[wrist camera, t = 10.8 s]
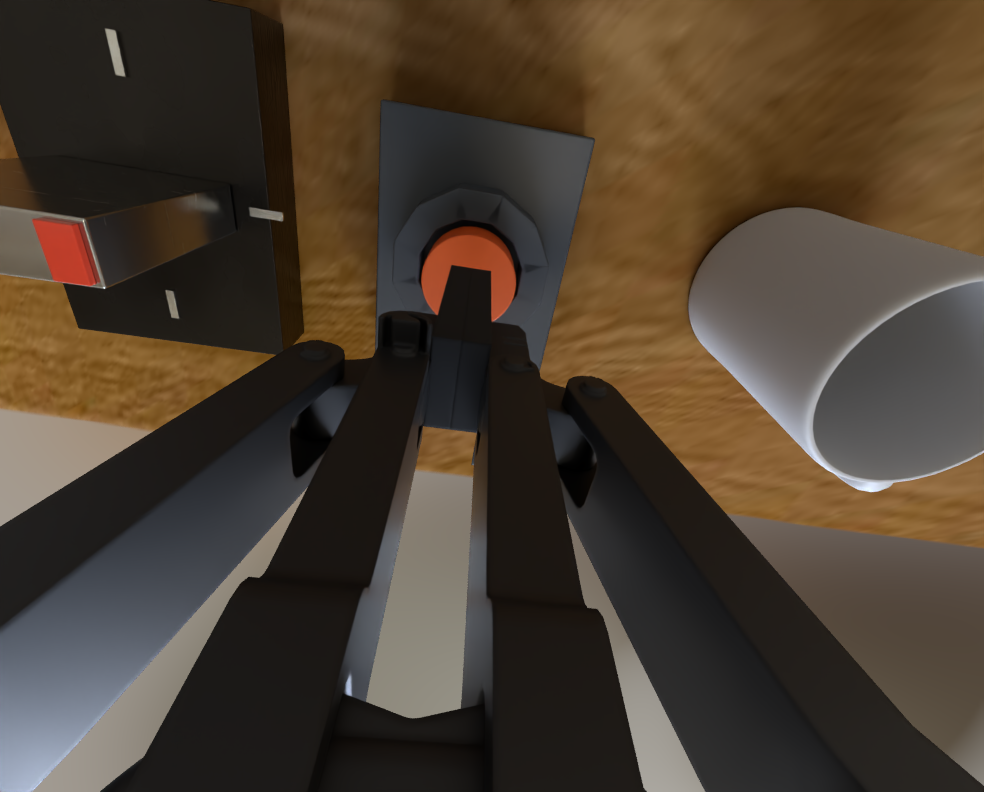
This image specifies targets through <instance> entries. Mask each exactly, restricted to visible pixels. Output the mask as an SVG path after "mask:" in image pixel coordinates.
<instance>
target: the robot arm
mask: <svg viewBox="0 0 984 792" xmlns="http://www.w3.org/2000/svg"><path fill="white" fill-rule="evenodd" d="M423 421H424V423H423ZM423 426H426V427H434V428H442V429H450V430H458V431H466V432H474V433H477V435H476V441H475V447H474V453H473V459H472V465H474V475H473V496H472V515H471V533H470V552H469V571H468V590H467V611H466V630H465V648H464V668H463V686H462V700H461V709H458V710H453V711H449V712H444V713H440V714H435V715H431V716H426V717H422V718H413V719H412V718H406V717H403V716H401V715H398V714H396V713H393V712H391V711H388V710H385V709H383V708H380V707H378V706H375V705H372V704H370V703H367V702H366V698H367V692H368V687H369V681H370V677H371V672H372V668H373V663H374V658H375V654H376V649H377V644H378V640H379V635H380V631H381V626H382V621H383V617H384V612H385V607H386V602H387V598H388V593H389V588H390V584H391V579H392V574H393V569H394V565H395V560H396V556H397V551H398V546H399V542H400V537H401V532H402V528H403V523H404V518H405V514H406V509H407V504H408V500H409V495H410V490H411V485H412V481H413V476H414V472H415V467H416V462H417V458H418V453H419V448H420V444H421V439H422V431H423ZM477 428H478V429H477ZM307 487H308V488H307ZM306 488H307V490H306V492H305V494H304V496H303V498H302V500H301V502H300V504H299V506H298V508H297V510H296V512H295V514H294V516H293V518H292V520H291V522H290V524H289V526H288V528H287V530H286V532H285V534H284V536H283V538H282V540H281V542H280V544H279V546H278V548H277V550H276V552H275V554H274V556H273V558H272V560H271V562H270V564H269V566H268V568H267V569H266V571H265V573H264V574H263V575H262V576H261V577H260V578H255V577H248V578H247V579H245V580H244V581H243V582H242V583H241V584H240V585H239V586H238V588H237V589H236V591H235V592H234V594H233V595H232V597H231V598H230V600H229V602H228V604H227V605H226V607H225V609H224V611H223V613H222V615H221V616H220V618H219V620H218V622H217V624H216V626H215V627H214V629H213V631H212V633H211V635H210V637H209V639H208V640H207V642H206V644H205V646H204V648H203V649H202V651H201V653H200V655H199V657H198V659H197V661H196V662H195V664H194V666H193V668H192V670H191V672H190V673H189V675H188V677H187V679H186V681H185V683H184V684H183V686H182V688H181V690H180V692H179V694H178V695H177V697H176V699H175V701H174V703H173V705H172V706H171V708H170V710H169V712H168V714H167V716H166V718H165V719H164V721H163V723H162V725H161V727H160V728H159V730H158V732H157V734H156V736H155V738H154V740H153V741H152V743H151V745H150V747H149V749H148V750H147V752H146V754H145V756H144V757H143V758H142V759H140V760H139V761H138V762H136V763H135V764H134V765H133V766H131V767H130V768H129V769H127V770H126V771H125V772H123V773H122V774H121V775H120V776H118V777H117V778H116V779H115V780H114V781H112V782H111V783H110V784H109V785H107V786H106V787H105V788H104V789H103V790H101V791H100V792H647V791H646V790H645V789H644V788H643V784H642V780H641V775H640V771H639V767H638V762H637V757H636V753H635V749H634V745H633V740H632V736H631V731H630V727H629V722H628V718H627V714H626V709H625V705H624V701H623V696H622V692H621V688H620V683H619V679H618V674H617V670H616V666H615V661H614V657H613V653H612V648H611V644H610V639H609V635H608V631H607V628H606V625H605V622H604V619H603V616H602V615H601V614H600V612H599V611H598V610H597V609H591V608H587V606H586V605H585V603H584V599H583V595H582V590H581V585H580V580H579V575H578V569H577V564H576V559H575V554H574V549H573V544H572V539H571V534H570V528H569V523H568V518H567V514H568V516H569V518H570V520H571V522H572V524H573V526H574V528H575V530H576V532H577V534H578V536H579V538H580V540H581V542H582V545H583V547H584V549H585V551H586V552H587V555H588V556H589V559H590V561H591V563H592V565H593V567H594V569H595V571H596V572H597V575H598V577H599V579H600V581H601V583H602V585H603V587H604V589H605V591H606V593H607V595H608V597H609V599H610V601H611V603H612V605H613V607H614V609H615V610H616V613H617V615H618V617H619V619H620V621H621V623H622V625H623V627H624V629H625V631H626V633H627V635H628V637H629V639H630V641H631V643H632V645H633V647H634V649H635V651H636V653H637V655H638V657H639V659H640V661H641V663H642V665H643V667H644V669H645V671H646V673H647V675H648V677H649V679H650V682H651V683H652V686H653V687H654V690H655V691H656V693H657V696H658V698H659V700H660V701H661V704H662V706H663V708H664V710H665V712H666V714H667V716H668V718H669V720H670V722H671V724H672V726H673V728H674V730H675V732H676V734H677V736H678V738H679V740H680V742H681V744H682V746H683V748H684V750H685V752H686V754H687V756H688V758H689V760H690V762H691V764H692V766H693V768H694V770H695V772H696V774H697V776H698V778H699V780H700V782H701V784H702V786H703V788H704V789H705V791H706V792H984V786H983V785H982V784H981V783H980V782H978V781H977V780H976V779H975V778H974V777H972V776H971V775H970V774H969V773H968V772H967V771H965V770H964V769H963V768H962V767H961V766H960V765H958V764H957V763H956V762H955V761H953V760H952V759H951V758H950V757H949V756H948V755H946V754H945V753H944V752H943V751H942V750H940V749H939V748H938V747H937V746H936V745H935V744H934V743H932V742H931V741H930V740H929V739H928V738H926V737H925V736H924V735H923V734H922V733H920V732H919V731H918V730H917V729H916V728H915V727H913V726H912V725H911V723H910V722H909V721H908V720H907V719H906V718H905V717H904V715H903V714H902V713H901V712H900V711H899V710H898V709H897V708H896V706H895V705H894V704H893V703H892V702H891V701H890V700H889V698H888V697H887V696H886V695H885V694H884V693H883V692H882V690H881V689H880V688H879V687H878V686H877V685H876V684H875V683H874V682H873V680H872V679H871V678H870V677H869V676H868V675H867V673H866V672H865V671H864V670H863V669H862V668H861V667H860V666H859V664H858V663H857V662H856V661H855V660H854V659H853V658H852V656H851V655H850V654H849V653H848V652H847V651H846V650H845V648H844V647H843V646H842V645H841V644H840V643H839V642H838V641H837V639H836V638H835V637H834V636H833V635H832V634H831V633H830V631H829V630H828V629H827V628H826V627H825V626H824V625H823V623H822V622H821V621H820V620H819V619H818V618H817V617H816V616H815V614H814V613H813V612H812V611H811V610H810V609H809V608H808V606H806V604H805V603H804V602H803V601H802V600H801V598H800V597H799V596H798V595H797V594H796V593H795V592H794V591H793V589H792V588H791V587H790V586H789V585H788V584H787V583H786V582H785V580H784V579H783V578H782V577H781V576H780V575H779V574H778V572H777V571H776V570H775V569H774V568H773V567H772V566H771V564H770V563H769V562H768V561H767V560H766V559H765V558H764V557H763V555H761V553H760V552H759V551H758V550H757V549H756V547H755V546H754V545H753V544H752V543H751V542H750V541H749V539H748V538H747V537H746V536H745V535H744V534H743V533H742V532H741V530H740V529H739V528H738V527H737V526H736V525H735V524H734V522H733V521H732V520H731V519H730V518H729V517H728V516H727V514H726V513H725V512H724V511H723V510H722V509H721V508H720V507H719V505H718V504H717V503H716V502H715V501H714V500H713V499H712V497H711V496H710V495H709V494H708V493H707V492H706V491H705V489H704V488H703V487H702V486H701V485H700V484H699V483H698V482H697V480H696V479H695V478H694V477H693V476H692V475H691V474H690V472H689V471H688V470H687V469H686V468H685V467H684V466H683V464H682V463H681V462H680V461H679V460H678V459H677V458H676V457H675V455H674V454H673V453H672V452H671V451H670V450H669V449H668V447H667V446H666V445H665V444H664V443H663V442H662V441H661V440H660V438H659V437H658V436H657V435H656V434H655V433H654V432H653V430H652V429H651V428H650V427H649V426H648V425H647V424H646V422H645V421H644V420H643V419H642V418H641V417H640V416H639V415H638V413H637V412H636V411H635V410H634V409H633V408H632V407H631V405H630V404H629V403H628V402H627V401H626V400H625V399H624V397H623V396H622V395H621V394H620V393H619V392H618V391H617V390H616V389H615V388H614V387H613V386H612V385H610V384H609V383H607V382H605V381H603V380H602V379H599V378H596V377H592V376H589V377H587V376H577V377H573V378H571V379H569V380H568V383H567V385H566V388H563V387H560V386H557V385H554V384H551V383H548V382H546V381H544V380H542V379H541V377H540V372H539V368H538V367H537V365H536V364H535V363H534V362H532V361H531V360H530V356H529V350H528V344H527V338H526V333H525V332H524V331H523V330H522V329H521V328H520V327H519V326H518V325H512V324H505V323H498V322H492V317H491V271H488V270H481V269H475V268H469V267H462V266H456V265H451V268H450V272H449V275H448V279H447V283H446V286H445V290H444V293H443V297H442V301H441V304H440V308H439V311H438V315H435V314H428V313H421V312H415V311H401V310H398V311H389V312H386V313H383V314H381V315H380V316H379V317H378V348H377V350H376V352H375V354H374V356H373V357H372V358H367V359H357V360H345V354H344V350H343V349H342V348H341V347H339V346H338V345H335V344H332V343H329V342H323V341H320V340H316V341H315V340H310V341H307V342H302V343H298V344H295V345H293V346H290V347H289V348H287V349H286V350H284V351H282V352H281V353H279V354H278V355H276V356H274V357H273V358H271V359H269V360H268V361H266V362H265V363H263V364H261V365H260V366H258V367H257V368H255V369H253V370H252V371H250V372H249V373H247V374H245V375H244V376H242V377H240V378H239V379H237V380H236V381H234V382H232V383H231V384H229V385H228V386H226V387H224V388H223V389H221V390H219V391H218V392H216V393H215V394H213V395H211V396H210V397H208V398H207V399H205V400H203V401H202V402H200V403H199V404H197V405H195V406H194V407H192V408H190V409H189V410H187V411H186V412H184V413H182V414H181V415H179V416H178V417H176V418H174V419H173V420H171V421H170V422H168V423H166V424H165V425H163V426H161V427H160V428H158V429H157V430H155V431H153V432H152V433H150V434H149V435H147V436H145V437H144V438H142V439H141V440H139V441H138V442H136V443H134V444H132V445H131V446H129V447H128V448H126V449H124V450H123V451H121V452H120V453H118V454H116V455H115V456H113V457H112V458H110V459H108V460H107V461H105V462H104V463H102V464H100V465H99V466H97V467H95V468H94V469H93V470H91V471H89V472H87V473H86V474H84V475H83V476H81V477H79V478H78V479H76V480H74V481H73V482H71V483H70V484H68V485H66V486H65V487H63V488H62V489H60V490H59V491H57V492H55V493H54V494H52V495H50V496H49V497H47V498H45V499H44V500H42V501H41V502H39V503H37V504H36V505H34V506H33V507H31V508H29V509H28V510H26V511H25V512H23V513H21V514H20V515H18V516H16V517H15V518H13V519H12V520H10V521H8V522H7V523H5V524H4V525H2V526H0V792H32V791H33V790H34V789H35V788H36V787H37V786H38V785H39V784H40V783H41V782H42V781H43V780H44V779H45V777H47V775H48V774H49V773H50V772H51V771H52V770H53V769H54V768H55V767H56V766H57V765H58V764H59V763H60V762H61V761H62V760H63V759H64V758H65V757H66V756H67V755H68V753H69V752H70V751H71V750H72V749H73V748H74V747H75V746H76V745H77V744H78V743H79V742H80V740H81V739H82V738H83V737H84V736H85V735H86V734H87V733H88V732H89V730H90V729H91V728H92V727H93V726H94V725H95V724H96V723H97V722H98V720H99V719H100V718H101V717H102V716H103V715H104V714H105V713H106V711H107V710H108V709H109V708H110V707H111V706H112V705H113V704H114V703H115V701H116V700H117V699H118V698H119V697H120V696H121V695H122V694H123V692H124V691H125V690H126V689H127V688H128V687H129V686H130V685H131V684H132V682H133V681H134V680H135V679H136V678H137V677H138V676H139V675H140V673H141V672H142V671H143V670H144V669H145V668H146V667H147V665H148V664H149V663H150V662H151V661H152V660H153V659H154V658H155V656H157V654H158V653H159V652H160V651H161V650H162V649H163V648H164V647H165V646H166V644H167V643H168V642H169V641H170V640H171V639H172V638H173V637H174V636H175V634H176V633H177V632H178V631H179V630H180V629H181V628H182V627H183V625H184V624H185V623H186V622H187V621H188V620H189V619H190V618H191V617H192V615H193V614H194V613H195V612H196V611H197V610H198V609H199V608H200V607H201V605H202V604H203V603H204V602H205V601H206V600H207V599H208V598H209V597H210V595H211V594H212V593H213V592H214V591H215V590H216V588H218V586H219V585H220V584H221V583H222V582H223V581H224V580H225V579H226V578H227V576H228V575H229V574H230V573H231V572H232V571H233V570H234V568H235V567H236V566H237V565H238V564H239V563H240V562H241V561H242V560H243V558H244V557H245V556H246V555H247V554H248V553H249V552H250V551H251V550H252V548H253V547H254V546H255V545H256V544H257V543H258V542H259V541H260V540H261V538H262V537H263V536H264V535H265V534H266V533H267V532H268V531H269V529H270V528H271V527H272V526H273V525H274V524H275V523H276V522H277V521H278V519H279V518H280V517H281V516H282V515H283V514H284V513H285V512H286V511H287V509H288V508H289V507H290V506H291V505H292V504H293V503H294V501H296V499H297V498H298V497H299V496H300V495H301V494H302V492H303V491H304V490H305V489H306Z"/></svg>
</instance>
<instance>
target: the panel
mask: <svg viewBox="0 0 984 792" xmlns="http://www.w3.org/2000/svg"><path fill="white" fill-rule="evenodd" d="M0 105H1V108H2V110H3V113H4V116H5V119H6V122H7V125H8V128H9V130H10V133H11V136H12V139H13V142H14V145H15V148H16V150H17V153H18V156H19V158H22V157H36V156H49V155H56V156H62V157H68V158H75V159H81V160H87V161H93V162H99V163H105V164H111V165H117V166H123V167H129V168H135V169H142V170H148V171H154V172H160V173H166V174H172V175H178V176H184V177H190V178H196V179H203V180H209V181H215V182H221V183H227V184H229V185H230V190H231V197H232V205H233V212H234V219H235V227H236V232H235V233H233V234H230V235H228V236H226V237H223V238H221V239H219V240H217V241H214V242H212V243H210V244H207V245H205V246H203V247H200V248H198V249H196V250H194V251H191V252H189V253H187V254H184V255H182V256H180V257H177V258H175V259H173V260H171V261H168V262H166V263H164V264H161V265H159V266H157V267H154V268H152V269H150V270H148V271H145V272H143V273H141V274H138V275H136V276H134V277H131V278H129V279H127V280H125V281H122V282H120V283H118V284H115V285H113V286H111V287H108V288H106V289H102V288H95V287H88V286H81V285H74V284H67V283H63V285H64V288H65V290H66V293H67V296H68V299H69V302H70V305H71V308H72V310H73V313H74V316H75V319H76V322H77V325H78V328H80V329H88V330H95V331H103V332H110V333H118V334H125V335H133V336H140V337H147V338H155V339H162V340H170V341H177V342H185V343H192V344H200V345H207V346H215V347H222V348H230V349H237V350H245V351H252V352H260V353H267V354H275V355H278V354H279V353H281V352H282V351H284V350H286V349H287V348H289V347H290V346H292V345H293V344H294V343H295V342H296V341H297V340H298V339H299V337H300V336H301V335H302V334H303V333H304V329H303V314H302V300H301V285H300V270H299V256H298V241H297V226H296V212H295V197H294V183H293V168H292V153H291V139H290V124H289V109H288V95H287V80H286V66H285V51H284V36H283V24H282V23H280V22H278V21H275V20H273V19H271V18H269V17H267V16H265V15H263V14H261V13H259V12H256V11H254V10H252V9H250V8H246V7H241V6H236V5H231V4H226V3H221V2H215V1H210V0H0Z"/></svg>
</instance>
